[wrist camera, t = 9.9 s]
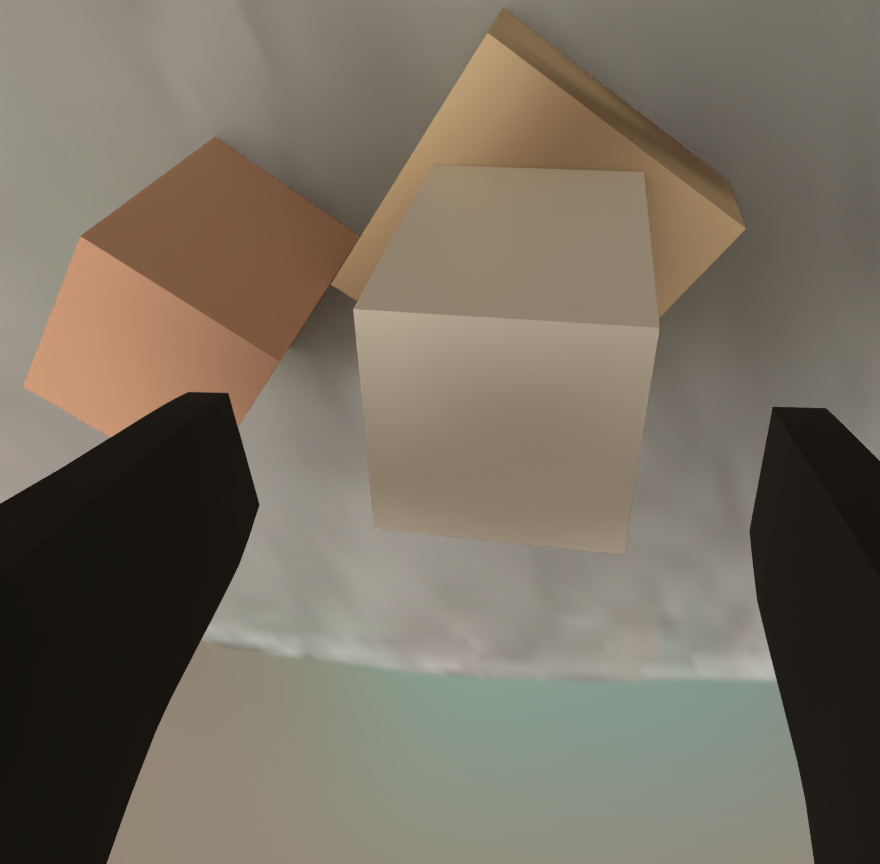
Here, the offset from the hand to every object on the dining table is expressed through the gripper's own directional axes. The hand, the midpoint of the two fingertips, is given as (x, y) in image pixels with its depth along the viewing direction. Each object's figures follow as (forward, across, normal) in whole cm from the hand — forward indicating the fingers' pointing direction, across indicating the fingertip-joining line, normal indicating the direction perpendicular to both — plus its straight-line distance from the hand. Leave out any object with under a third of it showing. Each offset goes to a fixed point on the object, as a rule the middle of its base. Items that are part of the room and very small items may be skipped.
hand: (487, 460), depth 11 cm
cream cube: (+7, 0, 0) cm, 7 cm away
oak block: (+10, 0, 0) cm, 10 cm away
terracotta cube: (+10, +7, +1) cm, 12 cm away
